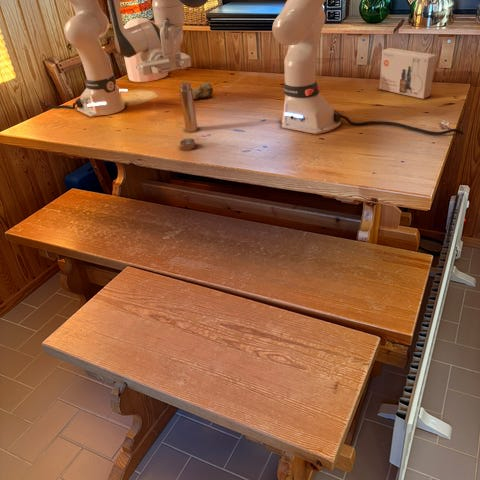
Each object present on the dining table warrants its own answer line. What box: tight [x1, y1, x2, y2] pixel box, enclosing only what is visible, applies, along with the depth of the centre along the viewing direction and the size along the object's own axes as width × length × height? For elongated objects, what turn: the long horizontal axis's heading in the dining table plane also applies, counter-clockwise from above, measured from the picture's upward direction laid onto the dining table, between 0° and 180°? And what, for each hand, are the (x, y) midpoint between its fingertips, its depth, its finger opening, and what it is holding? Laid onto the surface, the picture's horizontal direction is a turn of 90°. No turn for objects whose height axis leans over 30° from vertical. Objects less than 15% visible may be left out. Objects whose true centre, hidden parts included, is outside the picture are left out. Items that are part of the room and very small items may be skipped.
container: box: [123, 17, 169, 83], centre depth 235 cm, size 21×21×28 cm
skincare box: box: [378, 47, 437, 100], centre depth 184 cm, size 21×6×16 cm, turn 40°
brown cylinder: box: [179, 81, 199, 133], centre depth 170 cm, size 4×4×17 cm
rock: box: [192, 81, 214, 100], centre depth 206 cm, size 11×6×10 cm
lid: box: [179, 138, 196, 151], centre depth 161 cm, size 5×5×2 cm
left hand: (171, 68), depth 173 cm, fingers open, 8 cm apart
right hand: (176, 64), depth 146 cm, fingers open, 8 cm apart
